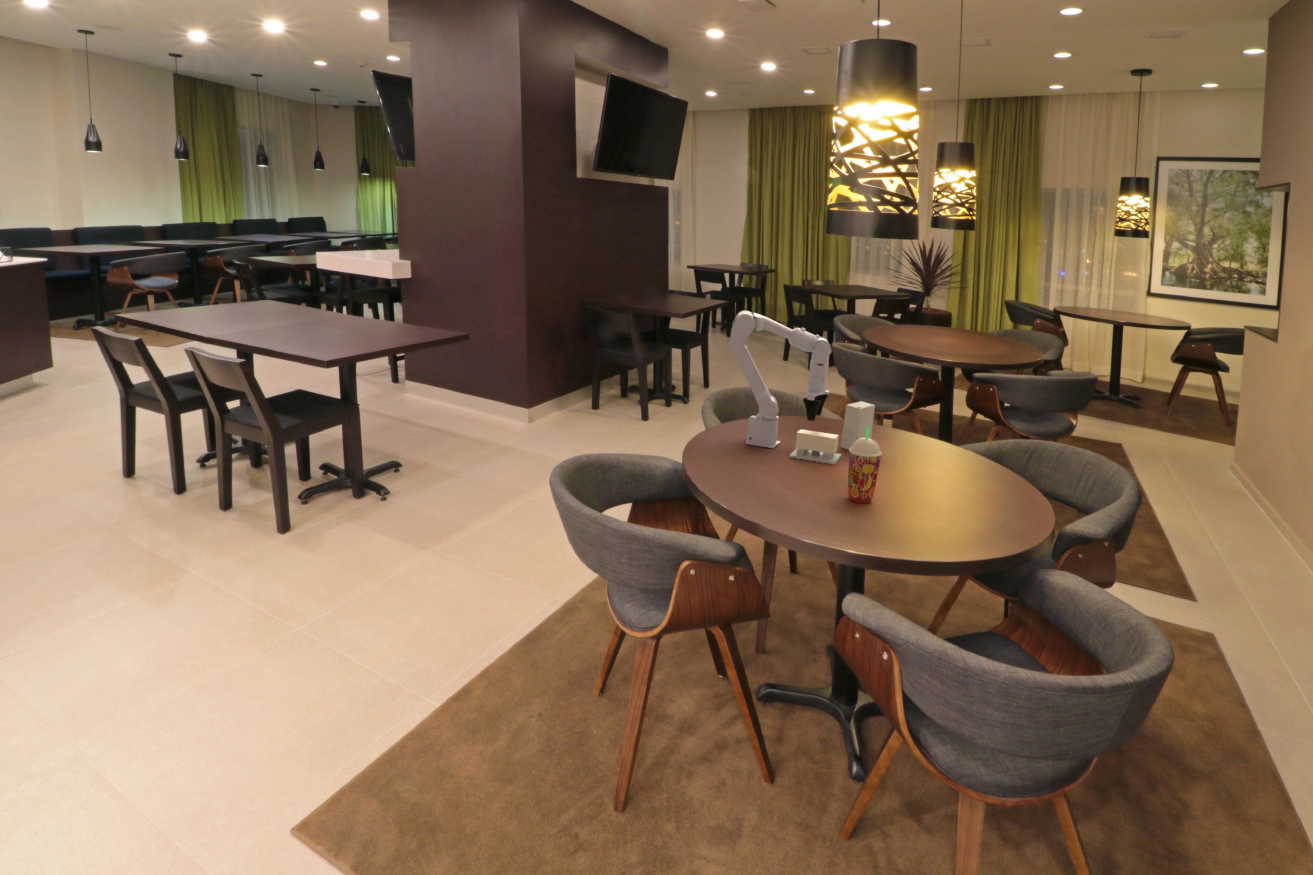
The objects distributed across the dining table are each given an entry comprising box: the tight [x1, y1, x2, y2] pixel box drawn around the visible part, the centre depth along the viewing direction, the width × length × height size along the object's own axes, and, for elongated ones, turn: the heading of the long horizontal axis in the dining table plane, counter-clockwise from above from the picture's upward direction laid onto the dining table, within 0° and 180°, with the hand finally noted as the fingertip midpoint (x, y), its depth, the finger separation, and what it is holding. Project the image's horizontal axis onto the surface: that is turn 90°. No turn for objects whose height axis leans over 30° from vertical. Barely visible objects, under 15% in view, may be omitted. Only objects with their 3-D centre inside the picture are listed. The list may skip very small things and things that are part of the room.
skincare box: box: [840, 400, 876, 451], centre depth 256 cm, size 8×6×15 cm
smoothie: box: [846, 428, 883, 504], centre depth 209 cm, size 8×8×20 cm
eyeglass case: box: [795, 429, 840, 454], centre depth 246 cm, size 12×4×5 cm, turn 65°
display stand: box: [788, 448, 842, 466], centre depth 247 cm, size 14×10×3 cm
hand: (813, 417), depth 255 cm, fingers open, 7 cm apart
